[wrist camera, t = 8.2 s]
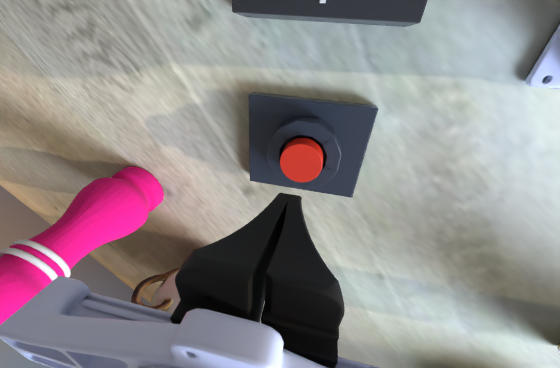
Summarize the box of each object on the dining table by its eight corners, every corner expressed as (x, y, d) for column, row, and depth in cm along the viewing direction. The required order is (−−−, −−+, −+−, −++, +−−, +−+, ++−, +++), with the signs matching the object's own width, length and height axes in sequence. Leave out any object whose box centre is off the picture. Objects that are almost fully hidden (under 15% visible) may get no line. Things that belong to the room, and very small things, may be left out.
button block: (376, 105, 19) (382, 114, 16) (351, 191, 24) (353, 208, 21) (252, 92, 20) (241, 98, 18) (253, 175, 25) (244, 189, 23)
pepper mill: (143, 212, 32) (-55, 386, 16) (107, 172, 30) (-183, 333, 13) (178, 201, 30) (-18, 396, 13) (142, 154, 27) (-169, 331, 10)
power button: (326, 140, 19) (325, 147, 17) (319, 176, 20) (318, 185, 19) (284, 134, 19) (281, 141, 18) (281, 170, 21) (278, 179, 20)
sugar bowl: (153, 252, 37) (64, 354, 25) (205, 218, 30) (117, 337, 18) (233, 315, 43) (193, 423, 31) (292, 298, 36) (271, 430, 24)
